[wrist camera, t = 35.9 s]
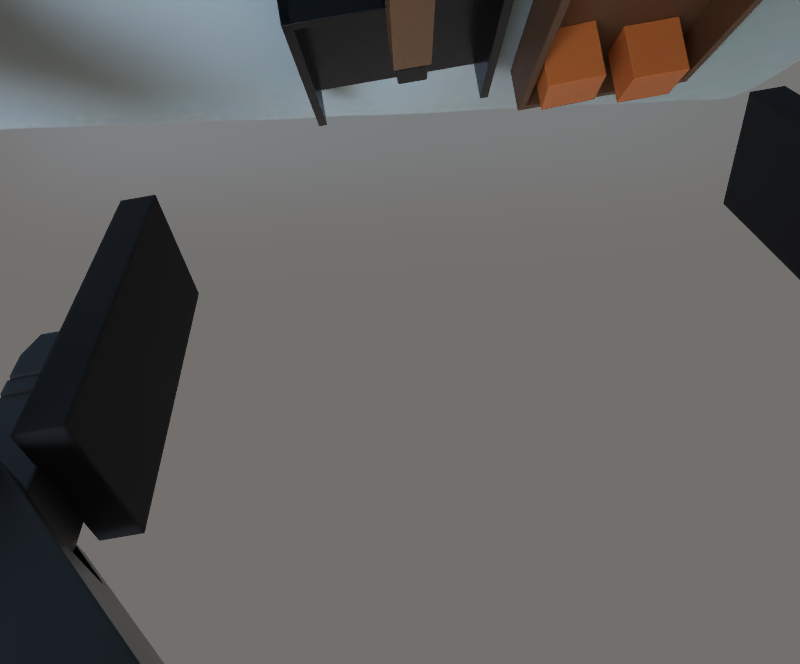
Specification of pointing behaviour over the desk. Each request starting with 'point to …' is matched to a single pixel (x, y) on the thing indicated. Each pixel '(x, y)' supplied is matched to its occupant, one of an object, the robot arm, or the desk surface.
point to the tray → (613, 9)
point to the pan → (390, 40)
